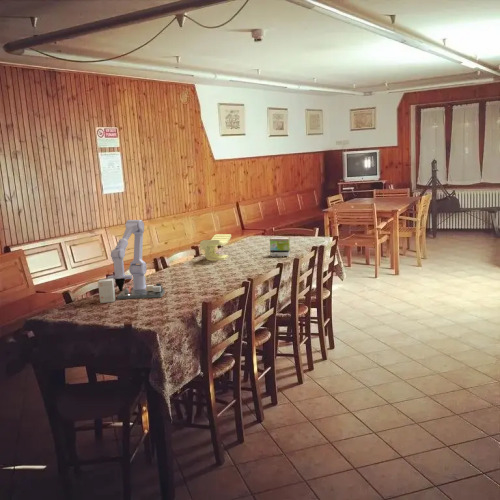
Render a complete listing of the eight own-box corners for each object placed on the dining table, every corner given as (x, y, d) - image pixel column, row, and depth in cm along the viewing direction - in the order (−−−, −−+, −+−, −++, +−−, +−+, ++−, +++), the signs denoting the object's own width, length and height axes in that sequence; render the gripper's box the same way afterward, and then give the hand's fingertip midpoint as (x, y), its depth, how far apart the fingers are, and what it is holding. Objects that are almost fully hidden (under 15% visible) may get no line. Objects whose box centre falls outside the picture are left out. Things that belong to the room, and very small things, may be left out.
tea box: (270, 257, 428) (269, 238, 426) (271, 254, 438) (271, 236, 436) (288, 256, 426) (288, 238, 423) (290, 254, 435) (289, 236, 433)
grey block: (154, 291, 323) (154, 286, 322) (161, 290, 323) (160, 285, 322) (153, 292, 320) (153, 287, 319) (160, 292, 320) (159, 287, 319)
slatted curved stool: (214, 255, 447) (212, 234, 444) (232, 255, 442) (231, 234, 439) (201, 262, 419) (199, 240, 415) (220, 262, 414) (219, 240, 411)
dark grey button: (156, 287, 327) (156, 283, 327) (161, 287, 327) (161, 283, 327) (155, 288, 324) (155, 284, 324) (160, 288, 324) (160, 284, 324)
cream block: (147, 289, 327) (147, 284, 326) (154, 289, 327) (153, 284, 326) (146, 290, 324) (146, 286, 323) (153, 290, 324) (152, 285, 323)
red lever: (128, 290, 326) (127, 285, 325) (132, 290, 326) (131, 285, 325) (124, 294, 317) (123, 289, 316) (128, 294, 316) (127, 289, 316)
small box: (115, 299, 316) (113, 278, 314) (114, 302, 310) (112, 280, 308) (101, 300, 316) (99, 278, 314) (99, 303, 310) (97, 281, 307)
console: (123, 293, 330) (122, 287, 329) (164, 292, 329) (164, 285, 328) (117, 299, 316) (116, 292, 316) (160, 297, 316) (160, 291, 315)
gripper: (105, 270, 317) (107, 292, 319) (129, 269, 316) (131, 292, 318) (108, 268, 324) (110, 290, 326) (132, 267, 323) (134, 289, 325)
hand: (121, 290), depth 323 cm, fingers closed
